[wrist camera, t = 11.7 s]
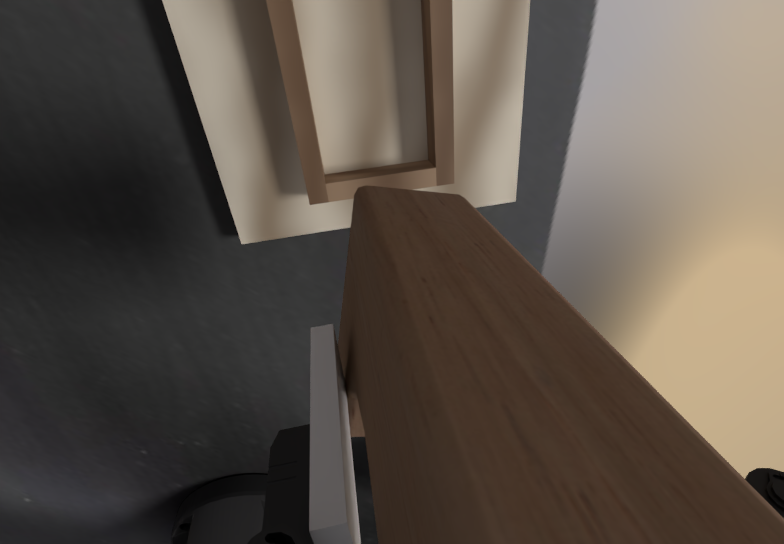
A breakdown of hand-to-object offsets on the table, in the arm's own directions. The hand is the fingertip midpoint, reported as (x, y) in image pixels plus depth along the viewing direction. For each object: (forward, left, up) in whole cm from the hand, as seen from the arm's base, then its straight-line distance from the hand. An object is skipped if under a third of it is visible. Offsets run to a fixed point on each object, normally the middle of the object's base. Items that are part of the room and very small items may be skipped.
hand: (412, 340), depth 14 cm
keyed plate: (+1, +8, -17) cm, 19 cm away
